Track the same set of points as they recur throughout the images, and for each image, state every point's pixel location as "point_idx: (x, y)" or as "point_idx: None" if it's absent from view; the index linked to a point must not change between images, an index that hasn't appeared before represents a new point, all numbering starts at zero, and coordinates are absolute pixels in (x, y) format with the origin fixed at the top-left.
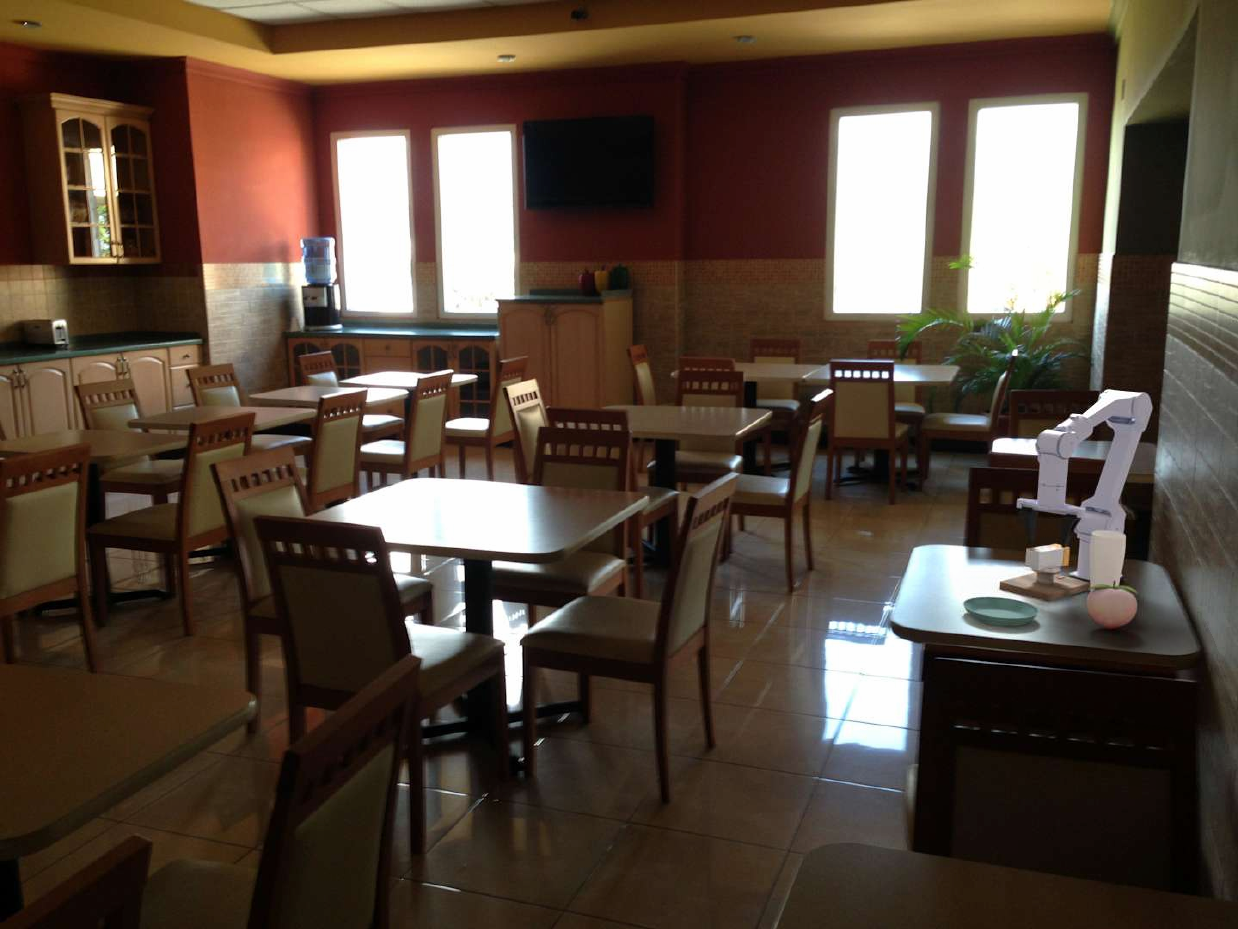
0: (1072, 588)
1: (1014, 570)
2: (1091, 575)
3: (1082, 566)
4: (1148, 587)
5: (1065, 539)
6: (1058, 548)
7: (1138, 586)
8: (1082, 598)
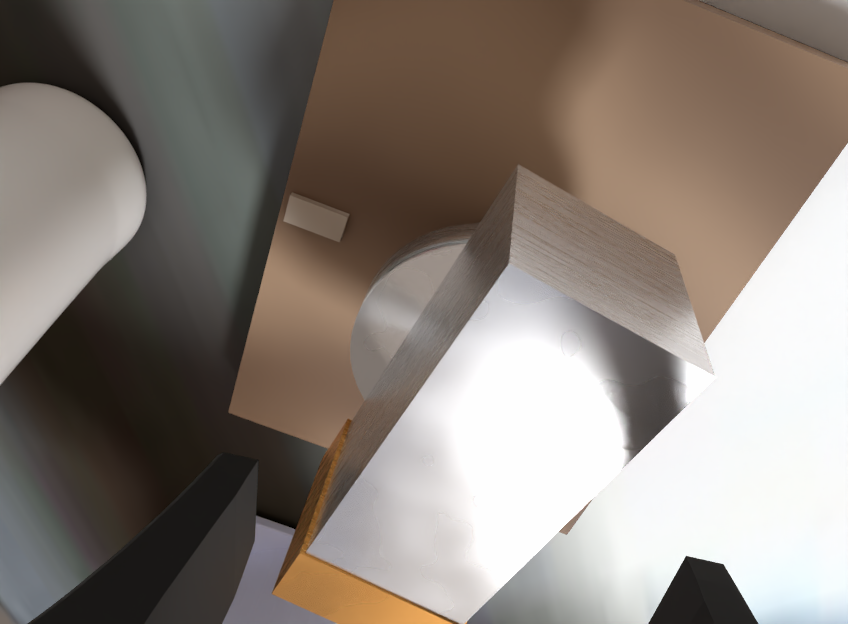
0: (274, 239)
1: (750, 559)
2: (2, 196)
3: None
4: (44, 541)
5: (143, 529)
6: (355, 536)
7: (83, 538)
8: (197, 159)
